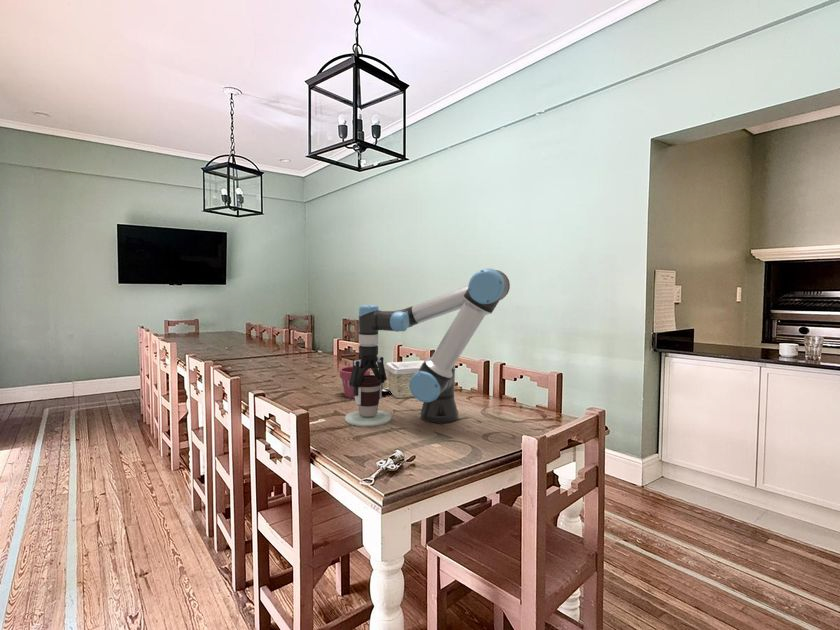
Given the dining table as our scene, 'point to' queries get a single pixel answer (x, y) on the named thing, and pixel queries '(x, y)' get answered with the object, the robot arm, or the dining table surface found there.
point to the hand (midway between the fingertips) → (368, 401)
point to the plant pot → (348, 380)
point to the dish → (368, 419)
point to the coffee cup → (369, 395)
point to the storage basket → (401, 377)
